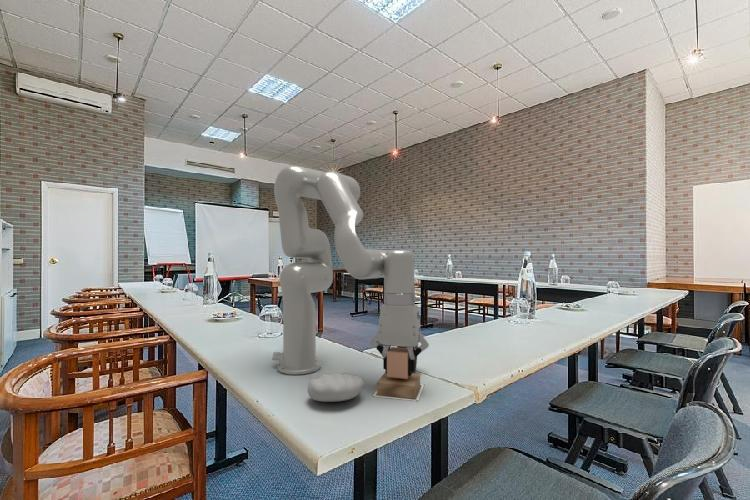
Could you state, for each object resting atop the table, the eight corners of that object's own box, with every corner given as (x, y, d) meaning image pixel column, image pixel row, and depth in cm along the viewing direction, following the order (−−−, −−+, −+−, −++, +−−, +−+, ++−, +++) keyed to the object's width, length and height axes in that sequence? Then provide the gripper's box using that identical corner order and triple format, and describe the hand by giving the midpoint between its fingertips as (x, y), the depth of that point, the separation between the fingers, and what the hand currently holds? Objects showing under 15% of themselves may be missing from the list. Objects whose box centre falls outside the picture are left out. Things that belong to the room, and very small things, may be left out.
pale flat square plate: (372, 398, 84) (372, 396, 84) (383, 382, 95) (383, 380, 95) (418, 403, 81) (418, 401, 81) (424, 386, 92) (424, 384, 92)
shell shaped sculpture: (356, 416, 75) (356, 385, 75) (299, 412, 77) (299, 381, 77) (368, 392, 88) (368, 366, 88) (318, 389, 90) (318, 363, 90)
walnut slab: (377, 395, 85) (377, 382, 85) (386, 382, 93) (386, 370, 93) (414, 399, 82) (414, 386, 82) (420, 385, 91) (420, 373, 91)
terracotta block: (391, 370, 91) (391, 346, 91) (410, 372, 90) (410, 348, 90) (386, 376, 86) (386, 352, 86) (407, 378, 85) (407, 353, 85)
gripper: (435, 299, 90) (435, 371, 89) (370, 296, 94) (370, 365, 94) (431, 303, 82) (431, 381, 82) (361, 300, 87) (361, 375, 87)
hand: (399, 372), depth 88 cm, fingers closed on terracotta block, 4 cm apart
